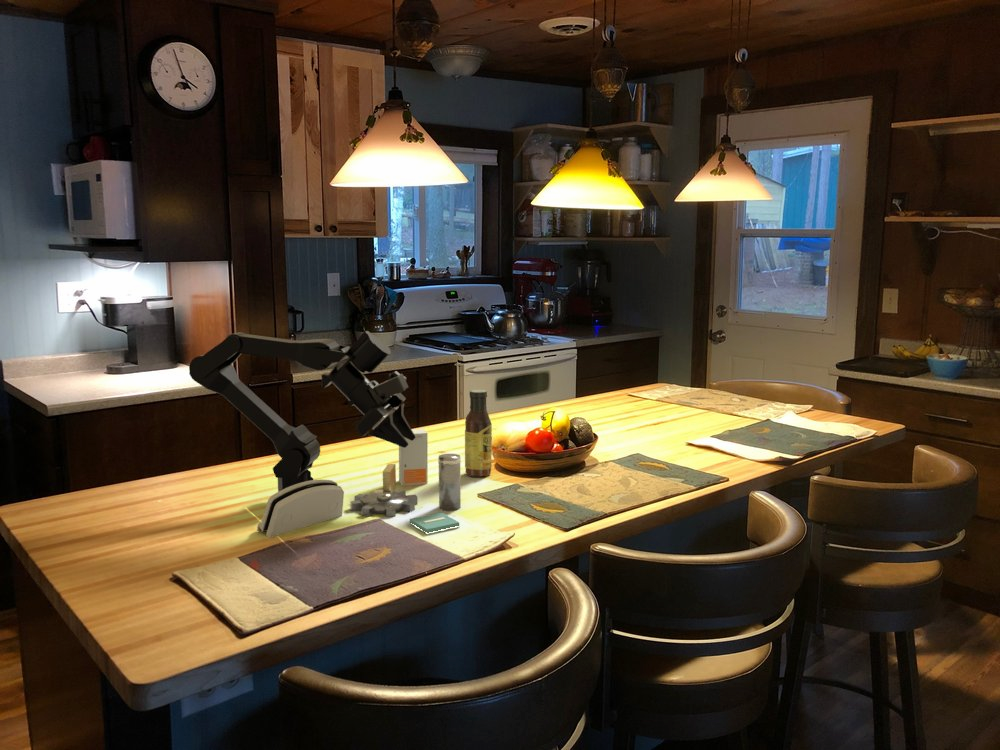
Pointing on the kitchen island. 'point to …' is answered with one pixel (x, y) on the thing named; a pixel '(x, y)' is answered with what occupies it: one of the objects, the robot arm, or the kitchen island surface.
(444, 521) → the pad
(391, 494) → the sprocket
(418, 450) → the skincare box
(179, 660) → the kitchen island surface
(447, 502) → the roller
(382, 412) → the robot arm
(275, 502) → the white rounded block
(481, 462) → the sauce bottle
